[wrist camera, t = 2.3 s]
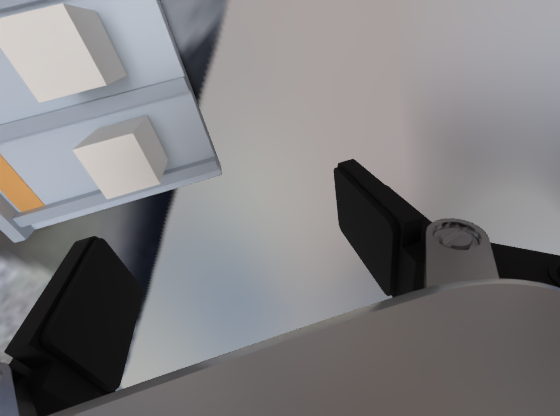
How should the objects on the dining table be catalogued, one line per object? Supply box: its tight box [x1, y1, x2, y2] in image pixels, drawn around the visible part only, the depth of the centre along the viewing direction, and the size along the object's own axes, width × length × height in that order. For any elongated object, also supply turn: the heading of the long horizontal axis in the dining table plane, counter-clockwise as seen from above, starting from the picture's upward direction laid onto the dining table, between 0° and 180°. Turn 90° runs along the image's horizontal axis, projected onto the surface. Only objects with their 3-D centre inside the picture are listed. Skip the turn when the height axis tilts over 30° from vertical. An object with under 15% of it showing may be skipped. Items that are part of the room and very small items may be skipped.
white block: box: [72, 115, 168, 199], centre depth 21 cm, size 4×4×5 cm
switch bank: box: [0, 0, 222, 243], centre depth 19 cm, size 19×24×4 cm
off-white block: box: [0, 3, 127, 103], centre depth 17 cm, size 4×4×5 cm
